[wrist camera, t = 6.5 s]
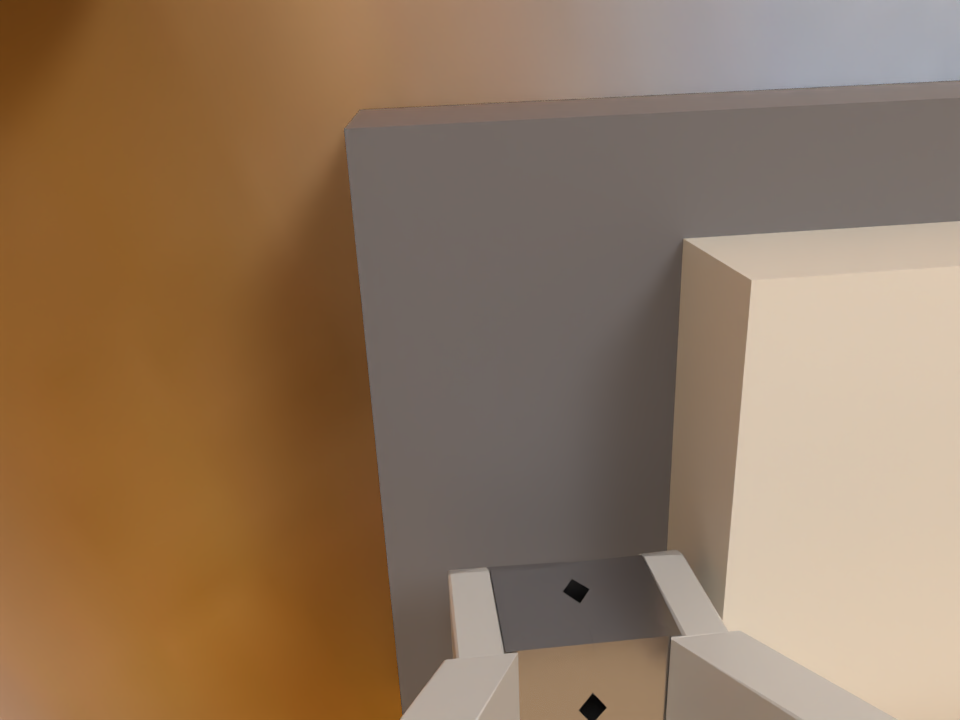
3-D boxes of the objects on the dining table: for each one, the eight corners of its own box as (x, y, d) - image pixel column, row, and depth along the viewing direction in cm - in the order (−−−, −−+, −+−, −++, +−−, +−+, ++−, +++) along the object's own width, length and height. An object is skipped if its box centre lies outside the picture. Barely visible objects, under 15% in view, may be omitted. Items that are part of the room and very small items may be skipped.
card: (683, 238, 10) (752, 280, 8) (1135, 210, 10) (1301, 242, 8) (655, 779, 13) (698, 899, 11) (998, 738, 13) (1095, 847, 11)
